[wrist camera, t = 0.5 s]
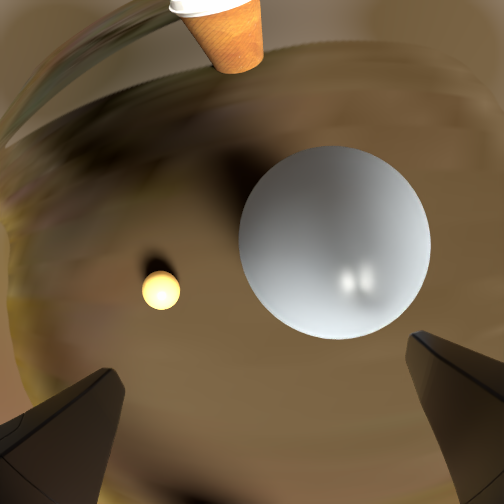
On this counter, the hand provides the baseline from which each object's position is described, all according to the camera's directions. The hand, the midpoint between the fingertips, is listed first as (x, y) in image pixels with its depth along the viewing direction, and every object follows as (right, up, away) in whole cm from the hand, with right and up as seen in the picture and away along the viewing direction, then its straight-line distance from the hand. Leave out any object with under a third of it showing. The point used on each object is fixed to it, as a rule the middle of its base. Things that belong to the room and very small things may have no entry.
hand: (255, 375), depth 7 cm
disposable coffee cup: (-2, +27, +20) cm, 34 cm away
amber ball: (-7, 0, +16) cm, 18 cm away
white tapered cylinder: (+5, +2, +14) cm, 15 cm away
